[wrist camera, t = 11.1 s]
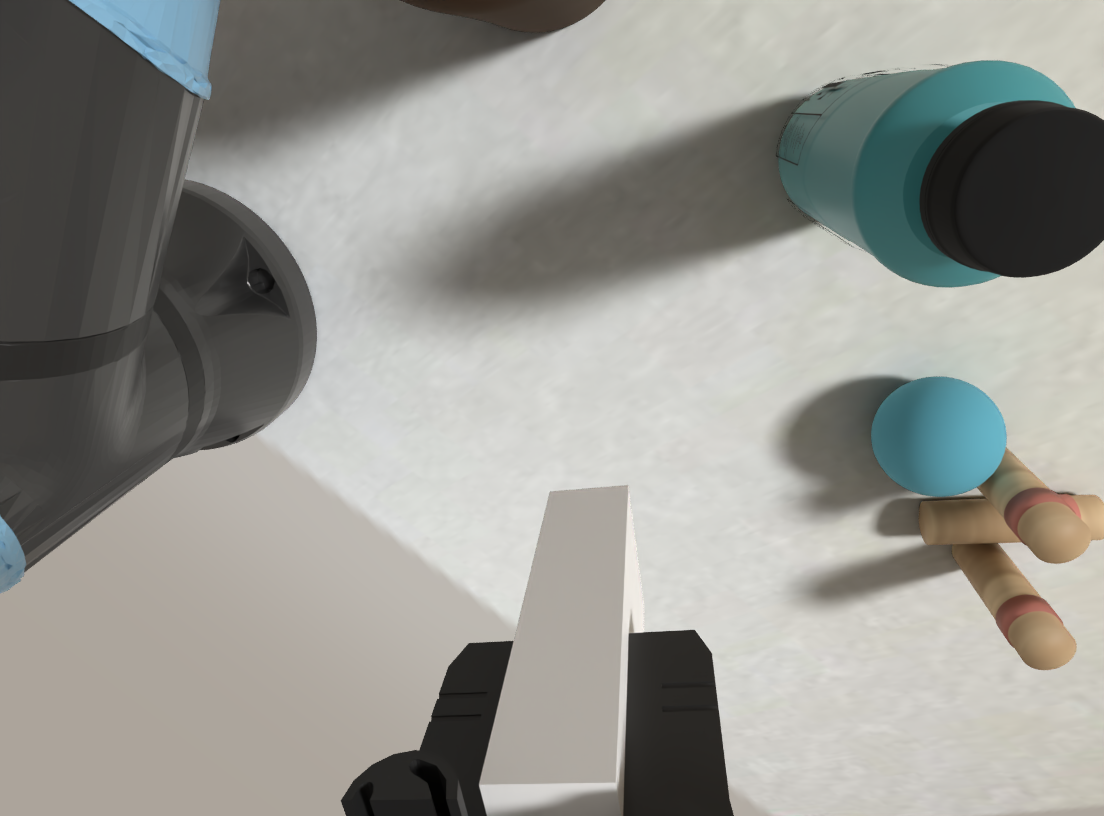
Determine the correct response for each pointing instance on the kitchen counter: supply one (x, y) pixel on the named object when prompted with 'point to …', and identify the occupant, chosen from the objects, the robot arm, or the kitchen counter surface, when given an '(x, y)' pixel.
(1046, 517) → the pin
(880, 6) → the kitchen counter surface
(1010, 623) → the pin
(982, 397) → the ball
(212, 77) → the kitchen counter surface
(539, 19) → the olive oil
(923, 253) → the beverage bottle
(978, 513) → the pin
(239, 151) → the kitchen counter surface
